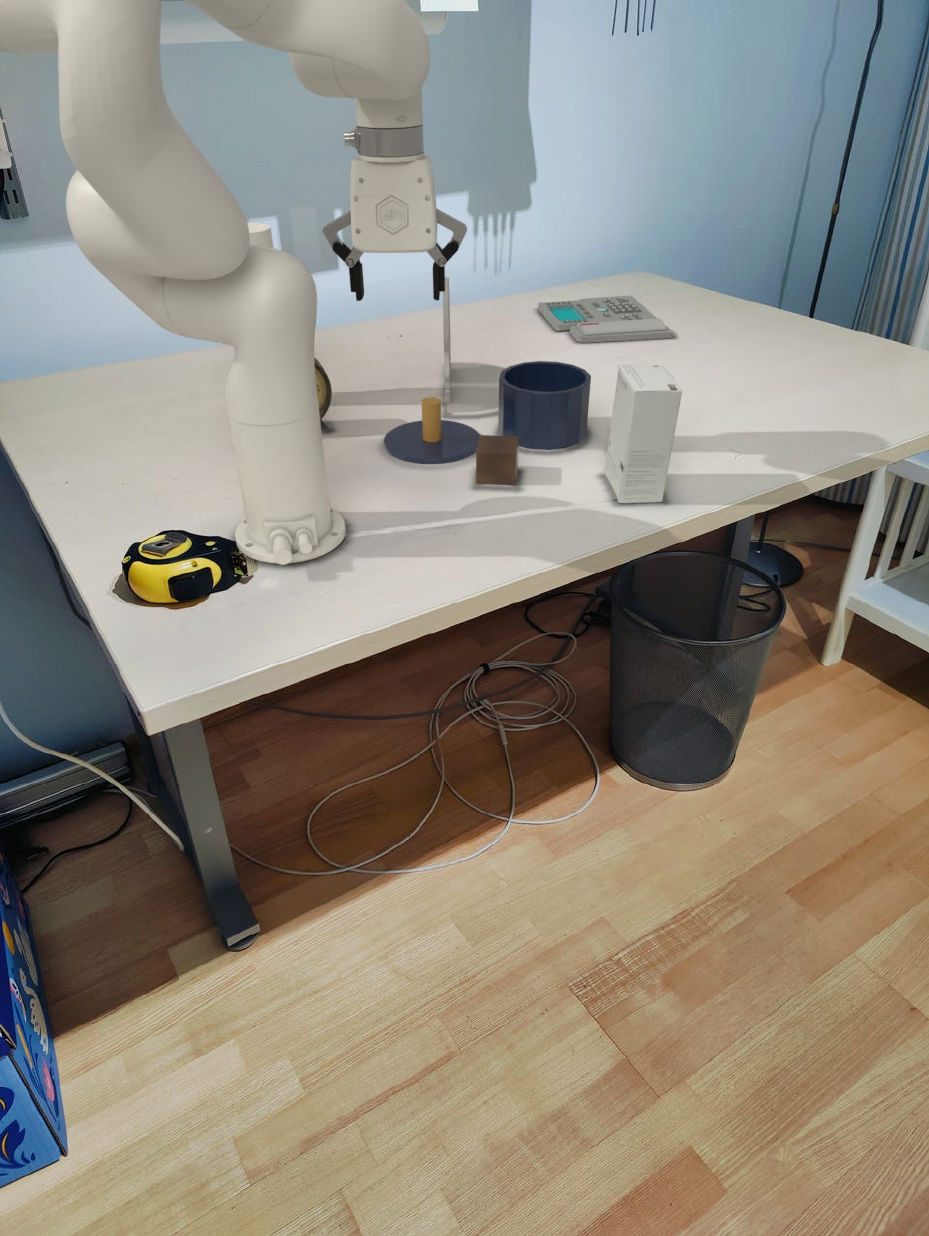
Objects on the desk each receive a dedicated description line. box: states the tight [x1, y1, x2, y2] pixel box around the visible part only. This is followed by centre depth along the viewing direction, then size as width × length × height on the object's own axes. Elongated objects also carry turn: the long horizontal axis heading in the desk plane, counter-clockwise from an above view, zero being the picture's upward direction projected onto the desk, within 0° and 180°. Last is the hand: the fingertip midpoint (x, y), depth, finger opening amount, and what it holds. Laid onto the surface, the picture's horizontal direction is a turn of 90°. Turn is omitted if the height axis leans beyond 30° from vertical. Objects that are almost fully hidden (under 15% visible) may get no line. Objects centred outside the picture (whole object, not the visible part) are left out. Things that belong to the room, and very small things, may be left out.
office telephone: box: [537, 295, 673, 344], centre depth 165 cm, size 23×3×20 cm
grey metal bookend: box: [442, 276, 506, 414], centre depth 133 cm, size 22×13×17 cm, turn 0°
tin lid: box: [383, 396, 481, 465], centre depth 118 cm, size 13×13×7 cm
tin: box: [497, 360, 592, 451], centre depth 121 cm, size 12×12×8 cm
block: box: [475, 434, 520, 486], centre depth 110 cm, size 5×5×5 cm
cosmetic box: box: [603, 364, 683, 504], centre depth 105 cm, size 8×6×15 cm
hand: (398, 297), depth 109 cm, fingers open, 9 cm apart
